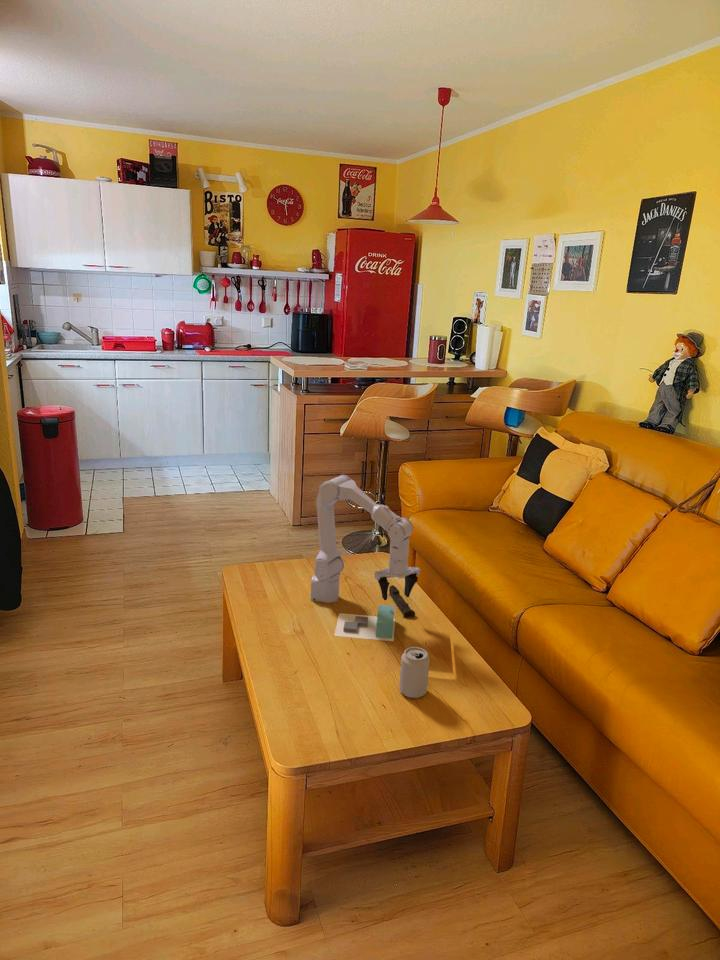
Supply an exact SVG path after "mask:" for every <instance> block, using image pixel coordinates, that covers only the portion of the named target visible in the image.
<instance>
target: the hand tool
mask: <svg viewBox="0 0 720 960" xmlns="http://www.w3.org/2000/svg"><path fill="white" fill-rule="evenodd" d="M388 592H389V593H388V595H389V597H391V599H392V601H393V602H394V603H395V605H396V607H397V608H398V609H399V611H400V613H401V614H402V615H403V618H414V617H415V616H416V611H415V610H413V609H412V608H411V607H410V606H409V603H408V602H406V601H405V599H404V598H403V597H402V595H401V594H400V590H399V589H398V588H397V586H395V585H389V587H388Z"/></svg>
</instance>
